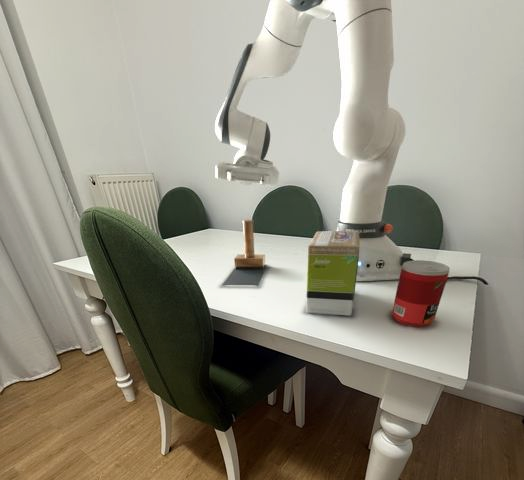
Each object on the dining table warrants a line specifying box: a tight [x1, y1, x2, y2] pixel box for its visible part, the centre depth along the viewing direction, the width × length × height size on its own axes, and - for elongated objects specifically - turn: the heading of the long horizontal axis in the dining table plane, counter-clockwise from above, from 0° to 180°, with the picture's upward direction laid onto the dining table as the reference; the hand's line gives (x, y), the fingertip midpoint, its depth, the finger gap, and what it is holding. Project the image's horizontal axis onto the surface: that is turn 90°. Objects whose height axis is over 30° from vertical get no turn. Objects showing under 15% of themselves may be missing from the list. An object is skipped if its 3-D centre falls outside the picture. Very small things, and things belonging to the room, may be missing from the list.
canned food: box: [391, 259, 451, 328], centre depth 57 cm, size 8×8×11 cm
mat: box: [221, 264, 268, 286], centre depth 88 cm, size 10×20×1 cm, turn 172°
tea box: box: [305, 230, 360, 316], centre depth 65 cm, size 15×10×15 cm
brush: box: [233, 219, 266, 270], centre depth 89 cm, size 9×5×14 cm, turn 82°
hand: (248, 180), depth 88 cm, fingers open, 8 cm apart
